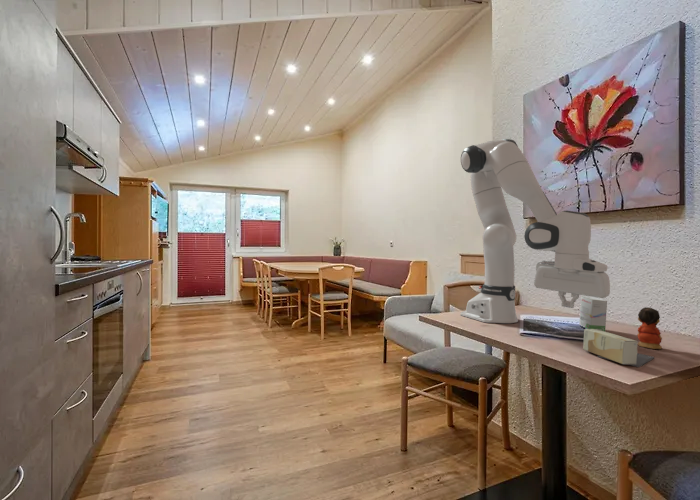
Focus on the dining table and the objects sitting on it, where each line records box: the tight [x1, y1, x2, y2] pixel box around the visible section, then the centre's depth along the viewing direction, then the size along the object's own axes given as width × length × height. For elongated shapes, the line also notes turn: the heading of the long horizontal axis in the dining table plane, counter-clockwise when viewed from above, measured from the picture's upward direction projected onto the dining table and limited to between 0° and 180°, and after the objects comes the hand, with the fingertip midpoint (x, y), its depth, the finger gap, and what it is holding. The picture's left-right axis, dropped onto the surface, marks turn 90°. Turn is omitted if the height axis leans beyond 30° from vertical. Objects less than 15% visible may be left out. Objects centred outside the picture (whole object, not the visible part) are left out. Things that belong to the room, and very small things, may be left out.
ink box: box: [578, 295, 608, 332], centre depth 121 cm, size 9×5×12 cm, turn 168°
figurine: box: [637, 306, 663, 350], centre depth 102 cm, size 6×6×12 cm
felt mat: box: [597, 352, 655, 368], centre depth 93 cm, size 9×12×1 cm
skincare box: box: [582, 329, 639, 366], centre depth 92 cm, size 6×4×12 cm
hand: (567, 307), depth 105 cm, fingers closed
